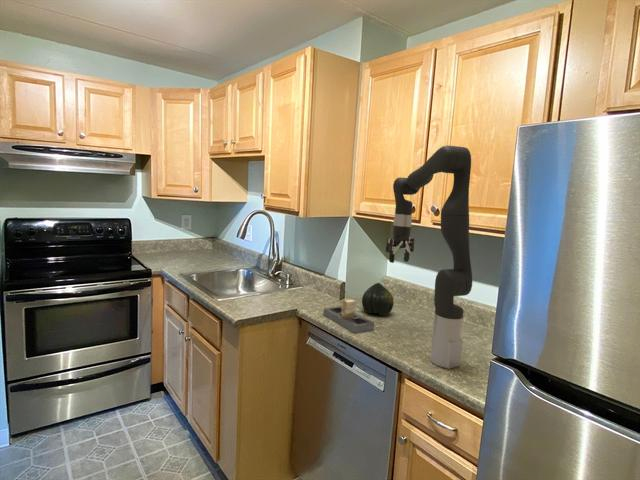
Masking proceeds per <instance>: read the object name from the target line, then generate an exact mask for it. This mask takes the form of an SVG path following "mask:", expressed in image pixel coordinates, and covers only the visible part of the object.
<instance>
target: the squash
mask: <svg viewBox="0 0 640 480" xmlns="http://www.w3.org/2000/svg"><path fill="white" fill-rule="evenodd" d="M394 304H395V301H394V296H393V294H392V293H391V292H390V291H389V290H388V288H387V287H385V286H384V285H382V283H380V282H376V283H374V284H373V285H371V286H370V287H368V288H367V289H366V290H365V291H364V293H363V295H362V299H361V305H362V309H363V310H364V311H365V312H366V313H368V314H374V313H375V314H378V315H379V316H380V317H381V316H385V315H388V314H390V313H391V311H392V309H393V307H394Z"/></svg>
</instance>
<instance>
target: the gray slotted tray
mask: <svg viewBox="0 0 640 480" xmlns="http://www.w3.org/2000/svg"><path fill="white" fill-rule="evenodd" d="M341 314H342V305H341V306H334V307H326V308H323V314H322V315H323V316H324V317H326V318H328V319H330V320H331V321H333V322H335V323H336V324H338V325H340V326H341V327H343V328H344V329H346V330H348V331H350V332H351V333H354V334H359V333H363V332H369V331H374V329H375V322H373V321H372V320H369V319H368V318H365V317H363V316H362V315H360V314H357V313H356V312H354V317H353V318H347V319H346V318H344V317H342V316H341Z"/></svg>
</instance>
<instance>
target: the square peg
mask: <svg viewBox="0 0 640 480" xmlns="http://www.w3.org/2000/svg"><path fill="white" fill-rule="evenodd" d="M341 306H342V314H341V316H342V317H344V318H346V319H347V318H353V317H354V313H356V312H355V311H356V301H355V300H354V299H351V298H343V299H342V304H341Z"/></svg>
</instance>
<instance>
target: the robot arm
mask: <svg viewBox="0 0 640 480" xmlns="http://www.w3.org/2000/svg"><path fill="white" fill-rule="evenodd" d="M471 171H472V155H471V151H470V150H469V148H468V147H465V146H456V145H443V146H441V147H439V148H438V149H437V150H436V151H435V152H434V153H433V154H432V155H431V156H430V157H429V158H428V159H426V161H425V162H424V163H423V164H422V165H421V166H420V167H419V168H417V169H416V170H414V171H412V172H411V173H409V175H407V177H401V176H400V177H396V178H395V180H394V181H393V183H392V184H393V185H392V188H393V189H392V191H393V195H394V200H395V210H394V211H395V212H394V216H393V227H392V235H393V237H392V238H389V237H388V238H387V239H386V247H385V252H386V253H388V255H389V256H388V261H389V263H392V264H393V263H395V258H396V257H395V256H396V254H395V253H396V252H398V250H400V249H403V251H404V254H403V262H409V260H410V254H411V253H413V252H414V250H415V238H414V237H411V233H412V231H411V230H412V221H413V219H412V217H413V216H412V214H413V202H412V201H411V200H408V199H406V198H405V196H404V195H407V196H413V195H415V194H417V193H418V192H420V189H421V188H423V187H425V186H426V185H428V184H429V183H430V182H432V180H433V178H434V175H435V174H439V173H443V174H453V185H452V190H451V191H450V194H449V196H448V197H447V199H446V201H445V202H444V204H443V205H442V208H441V210H440V232H441V235H442V236H443V239H444V240H445V243H446V244H447V246H448V248H449V250H450V252H451V254H452V261H453V268H443V269H440V270H439V271H438V272H437V274H436V276H435V282H434V296H433V297H434V298H433V299H434V300H433V302H434V319H433V327H432V336H431V347H430V355H429V360H430V362H431V363H432V364H434V366H435V365H436V366H438V367H441V368H444V369H447V370H450V369H454V368H457V367H460V366H461V359H462V352H463V343H464V339H463V338H461V336H462V327H463V321H464V312H465V311H464V309H463V307H461V306H460V305H458V304H454V297H461V296H462V297H463V296H467V295H469V294H470V293H471V291H472V288H473V271H472V262H471V254H470V252H471V250H470V208H469V207H470V204H469V203H470V202H469V201H470V197H469V196H470V180H471Z"/></svg>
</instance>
